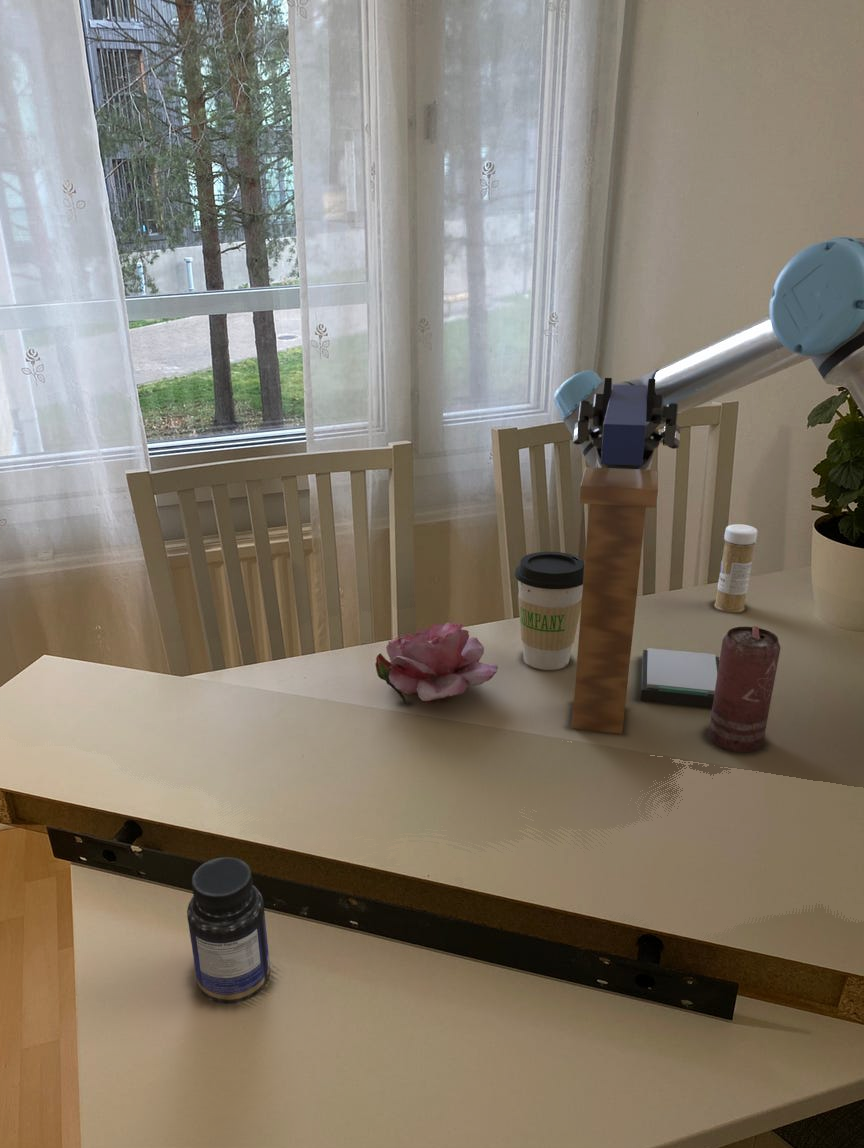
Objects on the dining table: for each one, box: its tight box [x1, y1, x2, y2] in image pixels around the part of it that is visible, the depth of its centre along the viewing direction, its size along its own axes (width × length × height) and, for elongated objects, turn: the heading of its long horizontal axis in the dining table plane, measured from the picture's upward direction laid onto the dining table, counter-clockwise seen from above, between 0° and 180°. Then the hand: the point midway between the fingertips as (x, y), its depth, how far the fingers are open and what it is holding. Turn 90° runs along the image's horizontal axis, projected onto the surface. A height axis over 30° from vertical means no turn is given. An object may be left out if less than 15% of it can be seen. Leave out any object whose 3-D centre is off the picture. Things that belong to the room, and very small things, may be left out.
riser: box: [571, 466, 659, 735], centre depth 107 cm, size 8×8×31 cm
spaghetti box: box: [601, 385, 647, 466], centre depth 99 cm, size 4×22×4 cm, turn 165°
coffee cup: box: [514, 551, 585, 671], centre depth 125 cm, size 10×10×15 cm
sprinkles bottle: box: [714, 523, 758, 613], centre depth 141 cm, size 5×5×14 cm
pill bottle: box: [186, 856, 271, 1005], centre depth 74 cm, size 6×6×11 cm
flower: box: [375, 621, 499, 705], centre depth 119 cm, size 15×15×10 cm
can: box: [708, 625, 781, 753], centre depth 105 cm, size 6×6×14 cm
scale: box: [640, 647, 720, 709], centre depth 121 cm, size 10×12×3 cm
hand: (629, 390), depth 101 cm, fingers closed on spaghetti box, 4 cm apart
